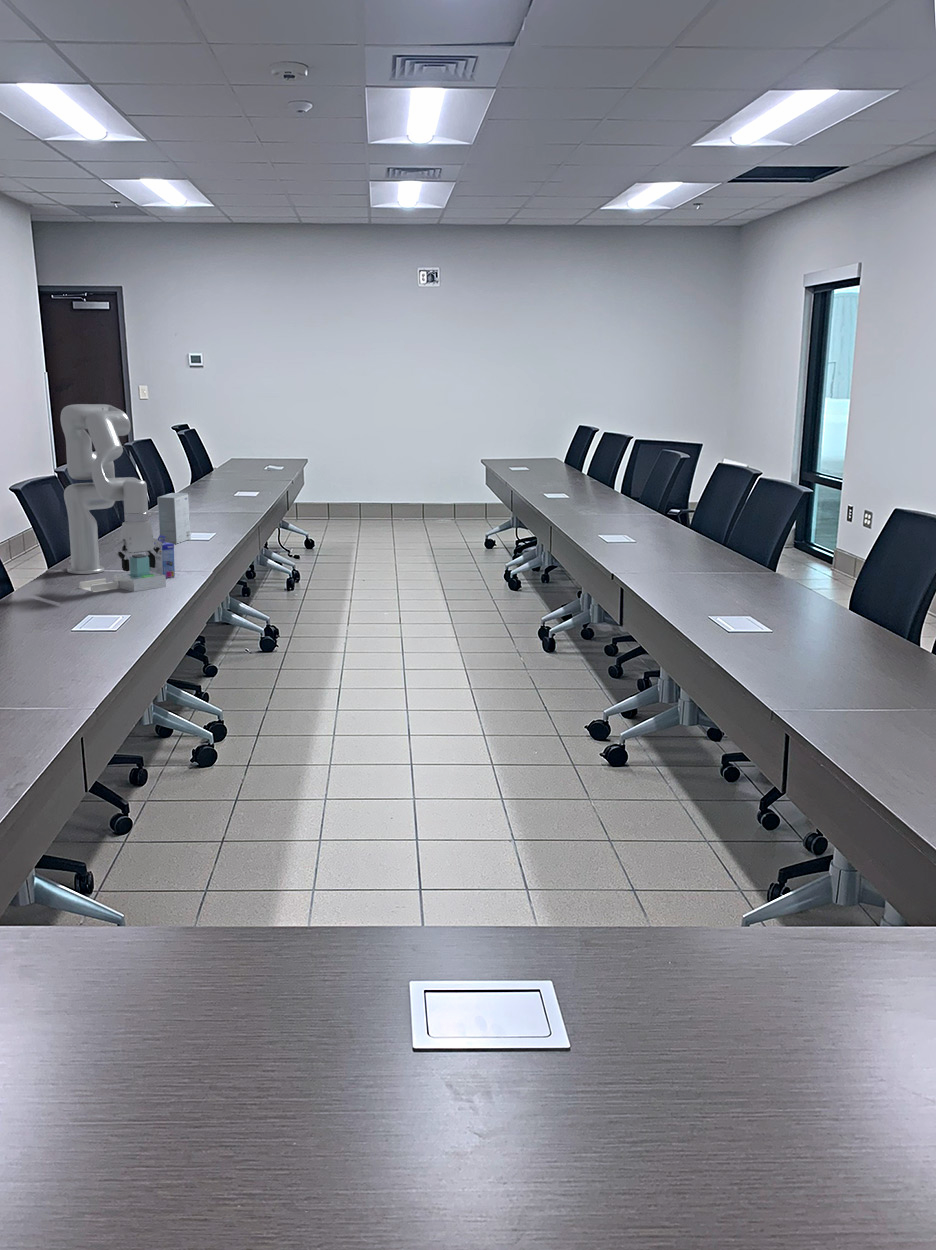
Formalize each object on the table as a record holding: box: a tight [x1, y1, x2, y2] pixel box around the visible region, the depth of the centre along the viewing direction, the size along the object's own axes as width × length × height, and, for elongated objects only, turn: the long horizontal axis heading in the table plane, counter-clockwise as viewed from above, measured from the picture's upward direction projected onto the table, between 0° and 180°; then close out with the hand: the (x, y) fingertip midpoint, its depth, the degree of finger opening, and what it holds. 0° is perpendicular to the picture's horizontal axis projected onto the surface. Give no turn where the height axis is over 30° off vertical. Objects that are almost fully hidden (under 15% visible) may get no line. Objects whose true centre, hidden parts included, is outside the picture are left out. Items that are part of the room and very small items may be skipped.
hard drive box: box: [157, 492, 192, 545], centre depth 447 cm, size 16×8×20 cm, turn 172°
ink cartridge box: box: [145, 534, 176, 579], centre depth 371 cm, size 10×6×14 cm, turn 53°
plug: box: [128, 553, 150, 577], centre depth 349 cm, size 4×4×11 cm
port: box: [113, 571, 167, 592], centre depth 350 cm, size 12×12×6 cm
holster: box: [78, 578, 120, 593], centre depth 346 cm, size 10×9×3 cm
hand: (139, 569), depth 349 cm, fingers open, 9 cm apart
